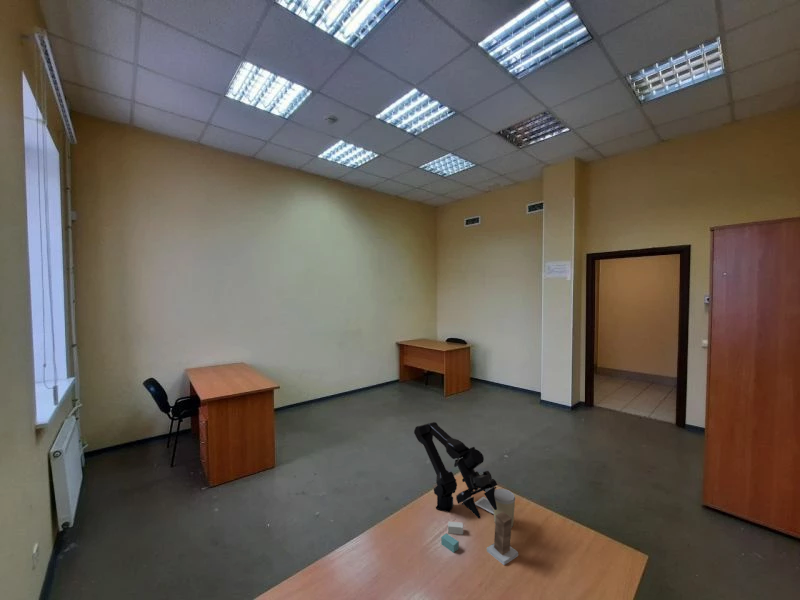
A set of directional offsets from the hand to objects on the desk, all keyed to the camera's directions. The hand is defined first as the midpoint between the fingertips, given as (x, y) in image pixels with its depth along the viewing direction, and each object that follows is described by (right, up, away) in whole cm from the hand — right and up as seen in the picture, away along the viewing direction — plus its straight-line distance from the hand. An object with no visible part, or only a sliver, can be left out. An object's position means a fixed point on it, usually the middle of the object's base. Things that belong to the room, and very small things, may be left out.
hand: (488, 513), depth 129 cm
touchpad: (+8, -12, +21) cm, 25 cm away
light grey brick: (-12, -11, +6) cm, 17 cm away
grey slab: (+4, -12, -6) cm, 14 cm away
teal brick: (-15, -11, -2) cm, 19 cm away
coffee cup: (+10, -11, +11) cm, 19 cm away
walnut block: (+4, -9, -6) cm, 12 cm away
